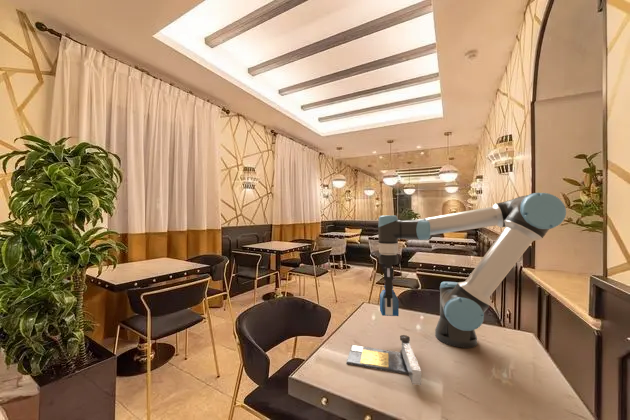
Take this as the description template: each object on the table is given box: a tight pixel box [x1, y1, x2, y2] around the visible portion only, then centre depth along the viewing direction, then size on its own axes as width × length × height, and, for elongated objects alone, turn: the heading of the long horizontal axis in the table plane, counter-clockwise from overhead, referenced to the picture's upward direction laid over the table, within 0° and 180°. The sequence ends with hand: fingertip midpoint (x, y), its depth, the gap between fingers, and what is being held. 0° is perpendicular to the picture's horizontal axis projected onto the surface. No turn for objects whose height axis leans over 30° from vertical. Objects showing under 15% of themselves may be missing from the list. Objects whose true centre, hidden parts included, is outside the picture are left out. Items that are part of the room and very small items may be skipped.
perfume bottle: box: [379, 282, 400, 317], centre depth 104 cm, size 6×6×12 cm
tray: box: [346, 344, 409, 376], centre depth 90 cm, size 22×12×2 cm, turn 74°
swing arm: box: [399, 334, 422, 386], centre depth 84 cm, size 20×3×5 cm, turn 171°
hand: (389, 311), depth 104 cm, fingers closed on perfume bottle, 7 cm apart
